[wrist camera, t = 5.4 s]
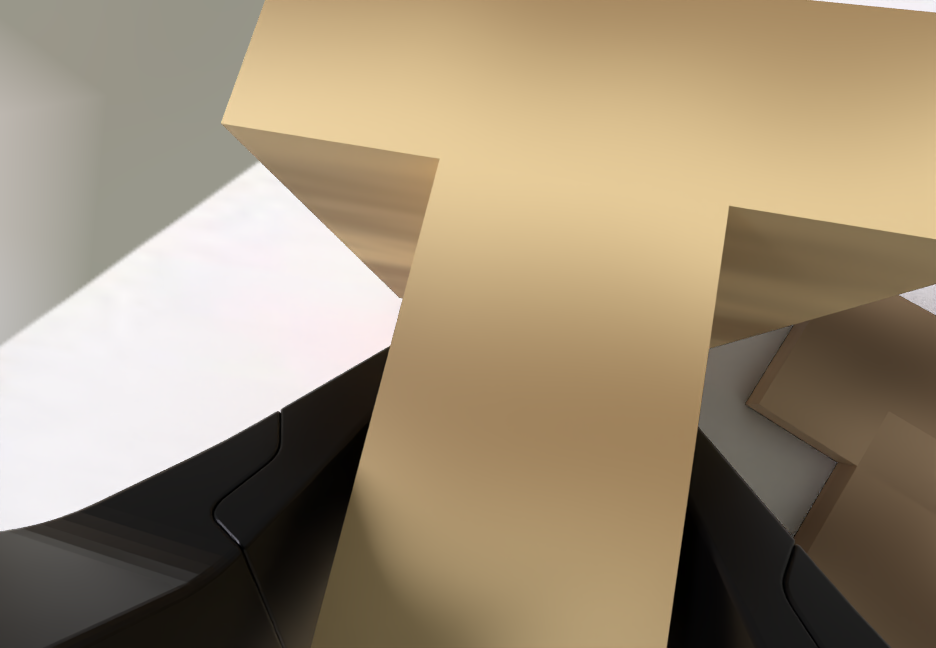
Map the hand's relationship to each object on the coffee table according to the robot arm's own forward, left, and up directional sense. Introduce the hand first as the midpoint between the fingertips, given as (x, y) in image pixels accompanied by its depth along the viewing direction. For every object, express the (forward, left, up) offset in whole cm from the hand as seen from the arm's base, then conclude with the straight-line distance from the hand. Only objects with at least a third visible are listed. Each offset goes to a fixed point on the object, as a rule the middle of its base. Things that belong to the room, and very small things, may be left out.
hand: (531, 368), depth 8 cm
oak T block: (0, 0, -7) cm, 7 cm away
